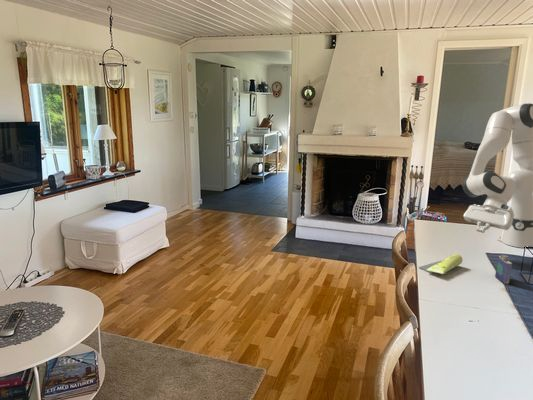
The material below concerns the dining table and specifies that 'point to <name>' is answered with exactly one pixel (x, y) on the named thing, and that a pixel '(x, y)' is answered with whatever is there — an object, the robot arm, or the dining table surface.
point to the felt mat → (436, 272)
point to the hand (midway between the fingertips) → (479, 231)
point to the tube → (446, 264)
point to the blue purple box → (503, 269)
